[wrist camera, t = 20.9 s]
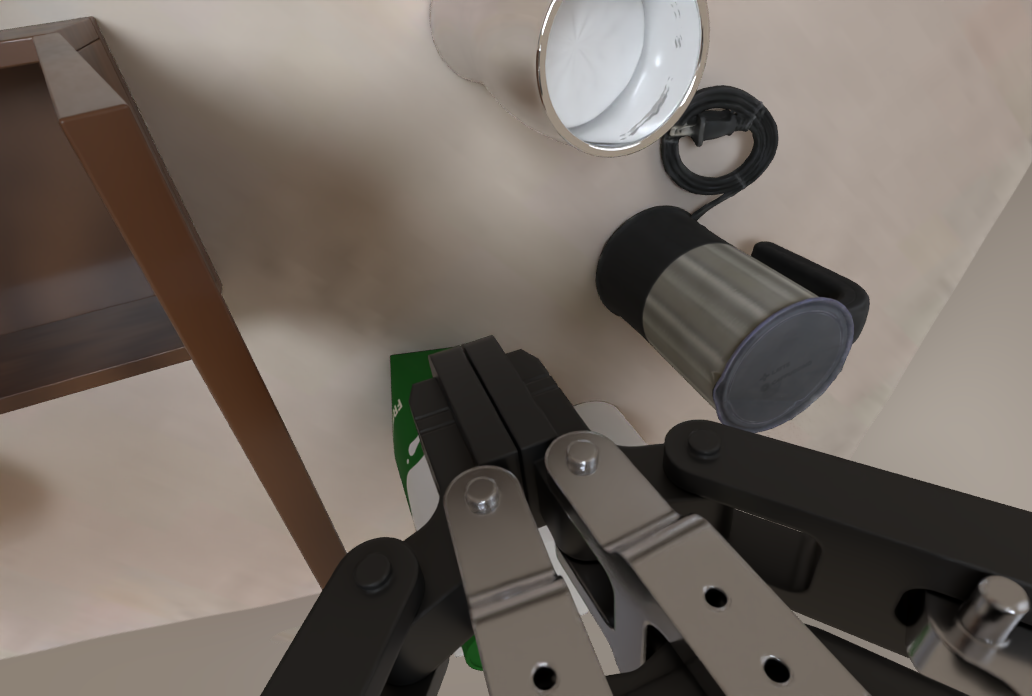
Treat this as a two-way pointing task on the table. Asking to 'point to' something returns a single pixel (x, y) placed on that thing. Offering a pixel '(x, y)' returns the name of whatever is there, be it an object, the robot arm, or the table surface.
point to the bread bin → (67, 243)
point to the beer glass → (580, 64)
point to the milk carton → (419, 476)
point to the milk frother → (730, 286)
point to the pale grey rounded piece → (609, 423)
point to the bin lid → (184, 288)
